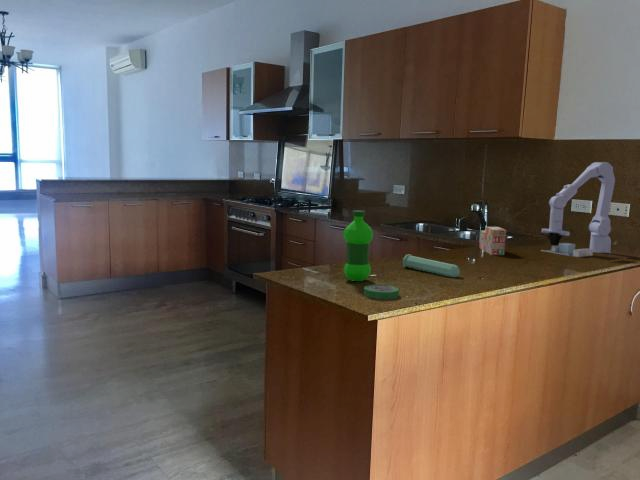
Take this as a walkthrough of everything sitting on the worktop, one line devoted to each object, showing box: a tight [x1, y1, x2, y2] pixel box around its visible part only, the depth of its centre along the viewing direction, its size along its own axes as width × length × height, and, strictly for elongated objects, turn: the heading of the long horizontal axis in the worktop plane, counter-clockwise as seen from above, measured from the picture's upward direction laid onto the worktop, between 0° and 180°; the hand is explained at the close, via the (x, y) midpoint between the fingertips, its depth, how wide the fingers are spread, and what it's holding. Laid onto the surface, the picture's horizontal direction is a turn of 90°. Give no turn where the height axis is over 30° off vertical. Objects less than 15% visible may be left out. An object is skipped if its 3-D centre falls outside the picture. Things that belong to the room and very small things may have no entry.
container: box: [402, 253, 460, 278], centre depth 215 cm, size 6×6×25 cm
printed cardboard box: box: [478, 226, 507, 256], centre depth 268 cm, size 21×6×12 cm, turn 0°
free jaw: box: [550, 244, 559, 252], centre depth 265 cm, size 10×3×3 cm, turn 119°
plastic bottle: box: [342, 210, 374, 281], centre depth 196 cm, size 10×10×25 cm
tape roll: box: [363, 284, 400, 300], centre depth 176 cm, size 11×11×3 cm
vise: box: [540, 247, 594, 258], centre depth 261 cm, size 12×20×4 cm, turn 29°
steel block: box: [558, 242, 576, 254], centre depth 261 cm, size 5×5×4 cm
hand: (554, 248), depth 267 cm, fingers closed
